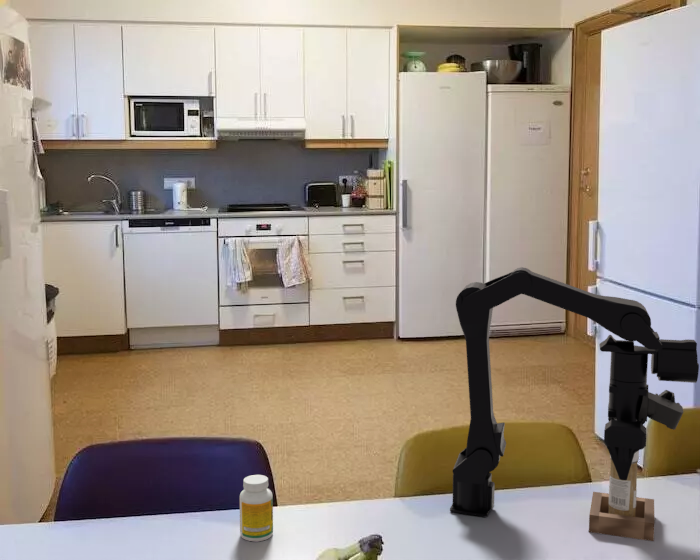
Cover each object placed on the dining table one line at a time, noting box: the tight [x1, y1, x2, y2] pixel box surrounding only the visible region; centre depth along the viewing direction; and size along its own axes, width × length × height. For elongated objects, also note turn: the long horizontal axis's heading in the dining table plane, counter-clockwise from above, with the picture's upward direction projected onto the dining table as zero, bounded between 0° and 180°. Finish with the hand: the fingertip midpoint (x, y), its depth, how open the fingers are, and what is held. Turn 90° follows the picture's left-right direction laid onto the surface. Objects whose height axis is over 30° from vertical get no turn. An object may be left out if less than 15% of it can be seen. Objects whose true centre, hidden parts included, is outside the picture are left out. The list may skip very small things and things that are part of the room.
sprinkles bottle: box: [608, 450, 640, 517], centre depth 136 cm, size 5×5×13 cm
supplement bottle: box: [238, 474, 274, 543], centre depth 132 cm, size 5×5×10 cm
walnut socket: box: [588, 491, 656, 542], centre depth 136 cm, size 10×10×3 cm
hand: (623, 469), depth 135 cm, fingers open, 9 cm apart
